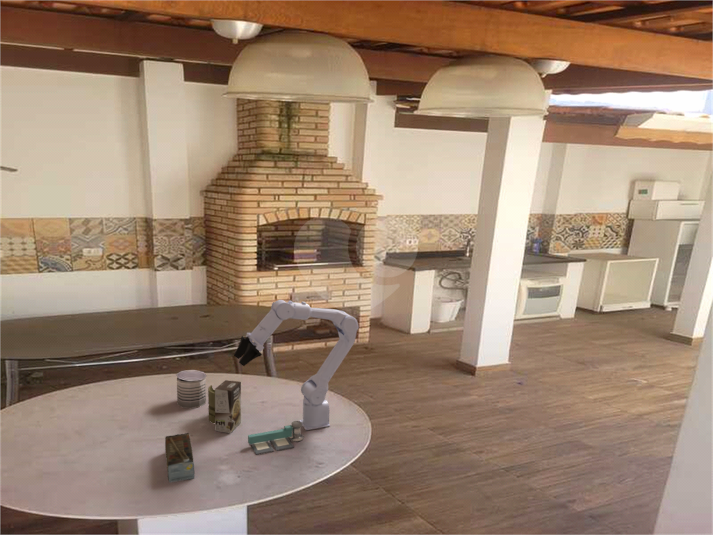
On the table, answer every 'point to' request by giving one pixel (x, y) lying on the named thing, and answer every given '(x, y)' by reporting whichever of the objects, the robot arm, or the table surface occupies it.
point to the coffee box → (227, 406)
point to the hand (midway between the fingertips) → (238, 360)
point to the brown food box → (211, 404)
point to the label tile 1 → (262, 447)
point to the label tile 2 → (282, 444)
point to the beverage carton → (179, 457)
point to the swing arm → (274, 434)
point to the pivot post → (296, 435)
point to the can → (191, 388)
